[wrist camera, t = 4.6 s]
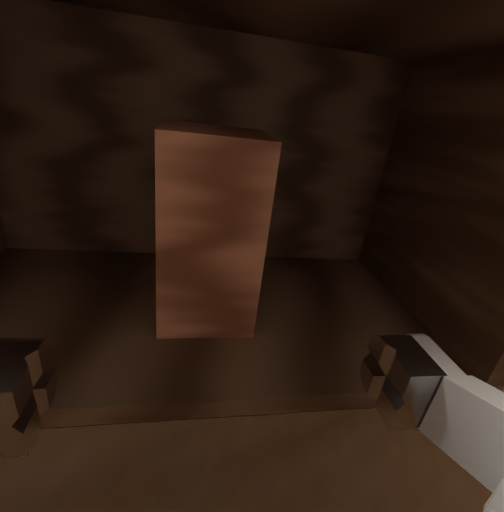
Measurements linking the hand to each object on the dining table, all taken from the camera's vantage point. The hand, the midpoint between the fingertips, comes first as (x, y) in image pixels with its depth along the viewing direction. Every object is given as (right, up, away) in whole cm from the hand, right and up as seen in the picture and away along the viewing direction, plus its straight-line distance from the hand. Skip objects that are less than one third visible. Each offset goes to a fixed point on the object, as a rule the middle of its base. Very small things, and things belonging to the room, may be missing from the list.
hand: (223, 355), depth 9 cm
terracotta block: (-2, -1, +11) cm, 11 cm away
